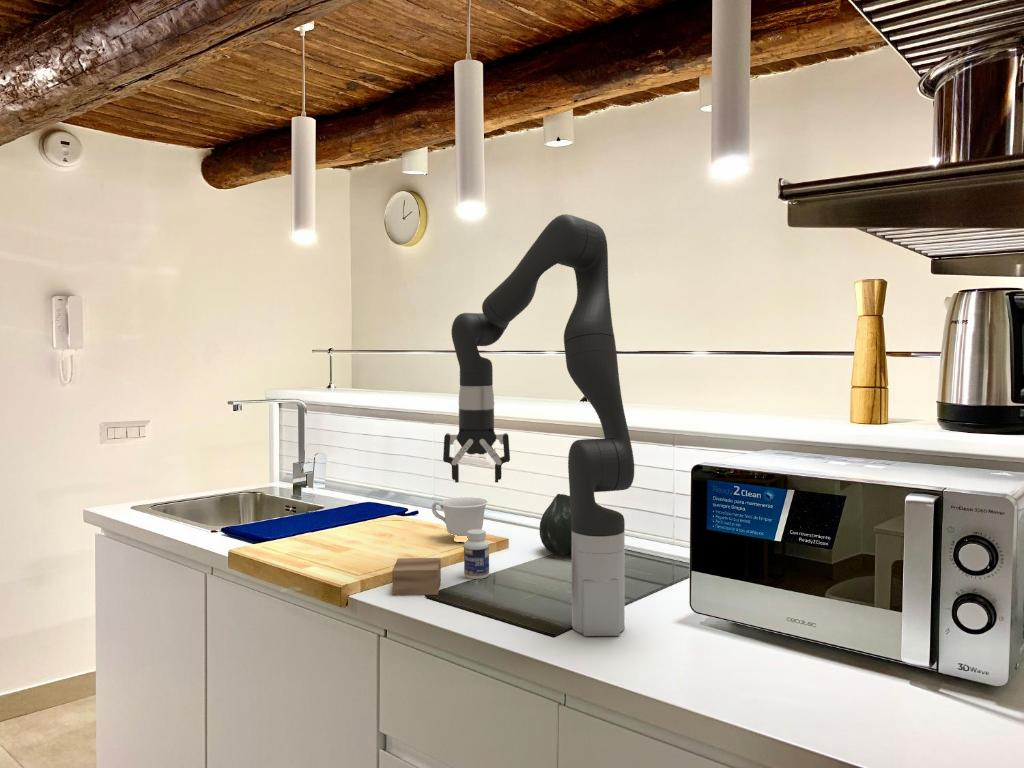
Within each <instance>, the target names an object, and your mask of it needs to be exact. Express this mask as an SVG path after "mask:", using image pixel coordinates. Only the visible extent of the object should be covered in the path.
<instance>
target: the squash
mask: <svg viewBox="0 0 1024 768" xmlns="http://www.w3.org/2000/svg"><path fill="white" fill-rule="evenodd" d="M548 505H549V506H547V508H546V509H545V511H544V512H543V514H542V516H541V519H540V522H539V538H540V541H541V542H542V544H543V546H544V548H545V549H546V550H547V551H548V552H549V553H551V554H554V555H559V556H562V557H566V556H567V557H569V556H572V522H571V512H570V495H567V494H565V493H561V494H560V493H556V496H554V497H553V499H552V501H551V503H550V504H548ZM567 557H566V558H567Z"/></svg>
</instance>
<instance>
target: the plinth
mask: <svg viewBox="0 0 1024 768" xmlns="http://www.w3.org/2000/svg"><path fill="white" fill-rule="evenodd" d="M441 561H442V560H441V557H420V558H419V557H414V558H413V557H412V558H411V557H408V558H407V557H405V558H402V557H401V558H399V557H398V558H397V559H396V561H395V564H394V566H393V568H392V571H391V572H392V578H391V579H392V582H391V583H392V596H431V595H433V596H434V595H435V596H436V595H437V596H438V595H439V591H440V587H441V581H442V571H441V566H442V565H441Z"/></svg>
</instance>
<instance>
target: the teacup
mask: <svg viewBox="0 0 1024 768" xmlns="http://www.w3.org/2000/svg"><path fill="white" fill-rule="evenodd" d="M488 503H489V501H488V500H487V499H484V498H480V497H474V496H473V497H471V496H470V497H468V496H467V497H466V496H465V497H462V496H461V497H452V498H450V497H449V498H446V499H443V500H442V501H441V500H435V501H434V502H433V503H432V505H431V512H432V514H433V516H434V517H435V518H437V519H439V520H441V521H443V523H444V524H445V527H446V529H447V533H450V534H449V535H451V534H453V535H457V536H467V531H469V530H475V529H480V530H483V527H484V520H485V519H484V518H485V509H486V506H487V505H488ZM437 506H439V507H440V509H441V510H442V511H443V513H444V516H443V515H441V514H440V513H439V512H438V511H437Z"/></svg>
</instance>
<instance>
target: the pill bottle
mask: <svg viewBox="0 0 1024 768" xmlns="http://www.w3.org/2000/svg"><path fill="white" fill-rule="evenodd" d="M486 537H487V535H486V530H485V529H482V530H480V529H475V530H469V531H467V538H468V540H467V541H466V542H465V543H463V544H464V545H463V557H464V558H463V561H464V562H463V563H464V564H463V566H464V567H463V569H464V570H463V573H464V577H465V578H467V579H471V580H482V579H485V578H487V577H489V575H490V543H489V541H487V540H486Z"/></svg>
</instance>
